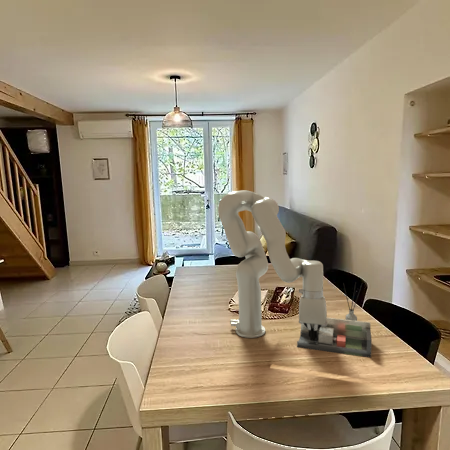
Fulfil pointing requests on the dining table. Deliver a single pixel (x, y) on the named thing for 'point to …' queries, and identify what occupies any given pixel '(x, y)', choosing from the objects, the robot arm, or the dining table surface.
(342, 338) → the salmon pink rectangular block
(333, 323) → the grey compartment tray
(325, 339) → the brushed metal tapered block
